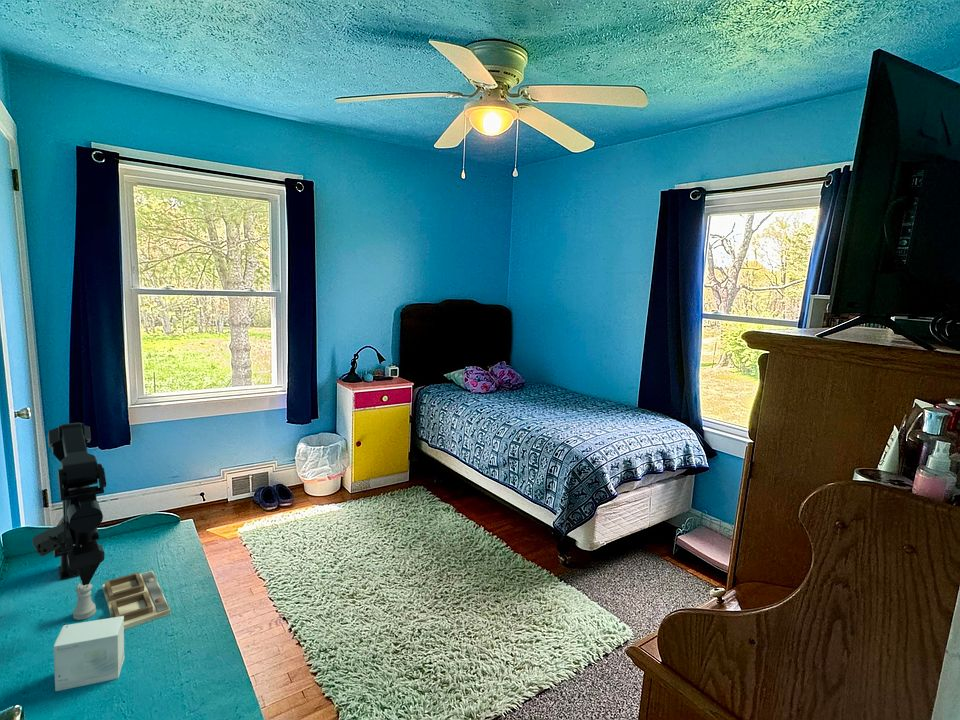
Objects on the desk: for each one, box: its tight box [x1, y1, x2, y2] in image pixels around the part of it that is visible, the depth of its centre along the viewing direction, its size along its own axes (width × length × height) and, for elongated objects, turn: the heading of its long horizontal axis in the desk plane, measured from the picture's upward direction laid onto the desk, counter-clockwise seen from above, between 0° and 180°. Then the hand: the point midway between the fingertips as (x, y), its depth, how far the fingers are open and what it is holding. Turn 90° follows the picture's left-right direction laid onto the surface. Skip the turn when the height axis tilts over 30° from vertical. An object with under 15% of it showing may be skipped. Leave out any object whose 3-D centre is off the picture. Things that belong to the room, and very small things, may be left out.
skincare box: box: [53, 616, 126, 692], centre depth 102 cm, size 10×6×10 cm, turn 115°
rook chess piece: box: [72, 582, 97, 621], centre depth 118 cm, size 4×4×8 cm
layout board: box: [101, 570, 171, 631], centre depth 125 cm, size 20×11×3 cm, turn 44°
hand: (83, 574), depth 117 cm, fingers open, 9 cm apart
